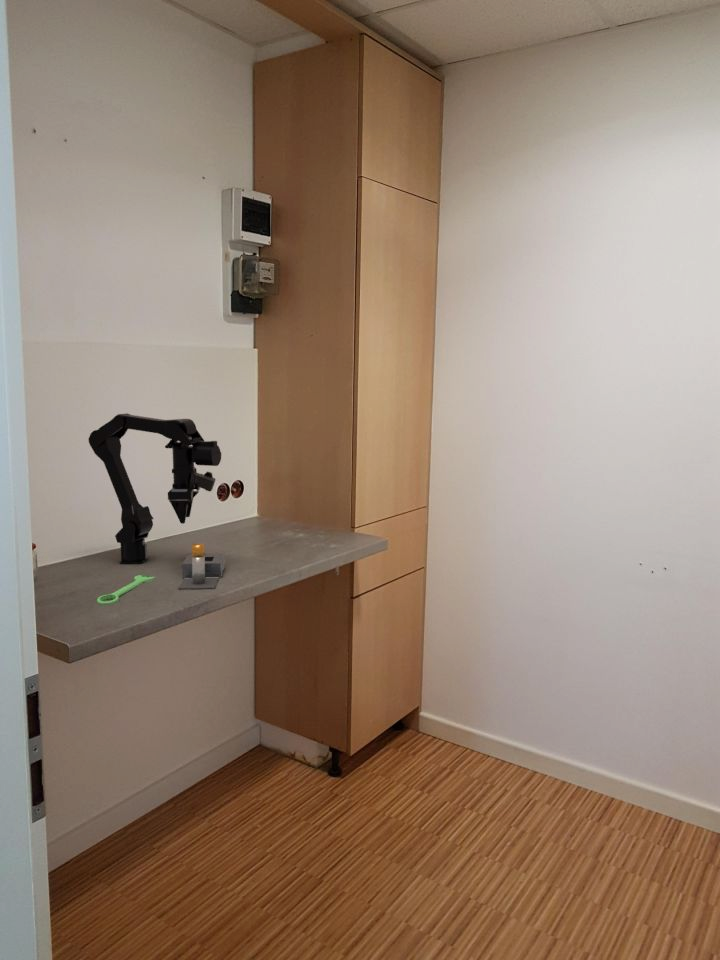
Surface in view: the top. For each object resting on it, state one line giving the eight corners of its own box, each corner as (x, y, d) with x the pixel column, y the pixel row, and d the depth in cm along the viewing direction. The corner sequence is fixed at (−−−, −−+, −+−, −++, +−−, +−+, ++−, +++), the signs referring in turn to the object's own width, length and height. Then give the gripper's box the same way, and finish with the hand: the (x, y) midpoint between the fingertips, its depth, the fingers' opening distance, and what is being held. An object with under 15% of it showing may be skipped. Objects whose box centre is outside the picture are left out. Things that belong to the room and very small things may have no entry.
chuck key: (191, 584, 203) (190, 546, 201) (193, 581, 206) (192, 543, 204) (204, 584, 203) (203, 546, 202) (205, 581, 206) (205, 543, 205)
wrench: (158, 581, 211) (139, 580, 212) (158, 574, 211) (139, 573, 212) (113, 607, 187) (92, 605, 188) (113, 599, 187) (92, 597, 188)
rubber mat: (178, 589, 200) (178, 588, 200) (183, 580, 209) (183, 578, 208) (214, 589, 200) (214, 587, 200) (218, 579, 209) (218, 578, 209)
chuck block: (182, 578, 210) (182, 563, 209) (188, 569, 220) (187, 554, 219) (220, 578, 211) (220, 563, 210) (224, 568, 221) (224, 554, 220)
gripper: (209, 468, 211) (210, 526, 213) (216, 460, 229) (218, 513, 232) (166, 469, 210) (168, 527, 212) (177, 460, 229) (179, 514, 231)
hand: (185, 520), depth 222 cm, fingers open, 9 cm apart
